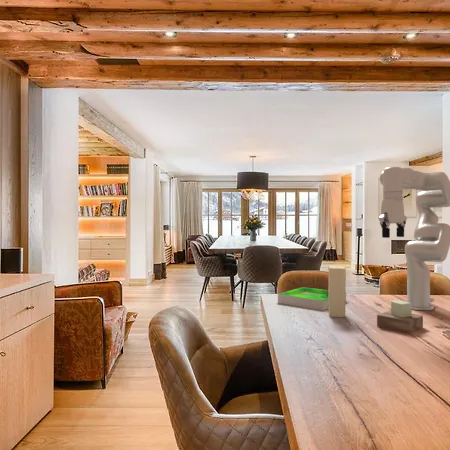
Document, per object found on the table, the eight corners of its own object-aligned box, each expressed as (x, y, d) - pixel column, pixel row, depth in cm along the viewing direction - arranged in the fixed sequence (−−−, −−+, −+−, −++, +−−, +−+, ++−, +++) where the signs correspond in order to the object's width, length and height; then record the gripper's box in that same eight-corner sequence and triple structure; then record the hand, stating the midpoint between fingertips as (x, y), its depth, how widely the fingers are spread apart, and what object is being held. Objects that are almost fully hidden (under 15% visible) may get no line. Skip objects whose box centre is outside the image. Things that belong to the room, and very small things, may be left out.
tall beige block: (347, 317, 157) (347, 268, 157) (329, 316, 158) (329, 268, 158) (345, 313, 165) (345, 266, 165) (328, 312, 166) (328, 265, 166)
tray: (277, 303, 187) (277, 294, 186) (302, 296, 205) (302, 287, 205) (323, 311, 170) (323, 300, 170) (346, 302, 189) (346, 292, 189)
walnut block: (392, 322, 151) (392, 310, 151) (422, 328, 141) (422, 315, 141) (377, 327, 143) (377, 314, 143) (408, 334, 134) (408, 321, 134)
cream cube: (400, 313, 145) (400, 300, 145) (411, 316, 141) (411, 303, 141) (391, 314, 143) (391, 301, 143) (401, 317, 139) (401, 304, 139)
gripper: (397, 197, 163) (397, 236, 163) (371, 196, 154) (372, 237, 154) (413, 196, 157) (413, 236, 157) (387, 195, 148) (388, 238, 148)
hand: (393, 237), depth 156 cm, fingers open, 9 cm apart
